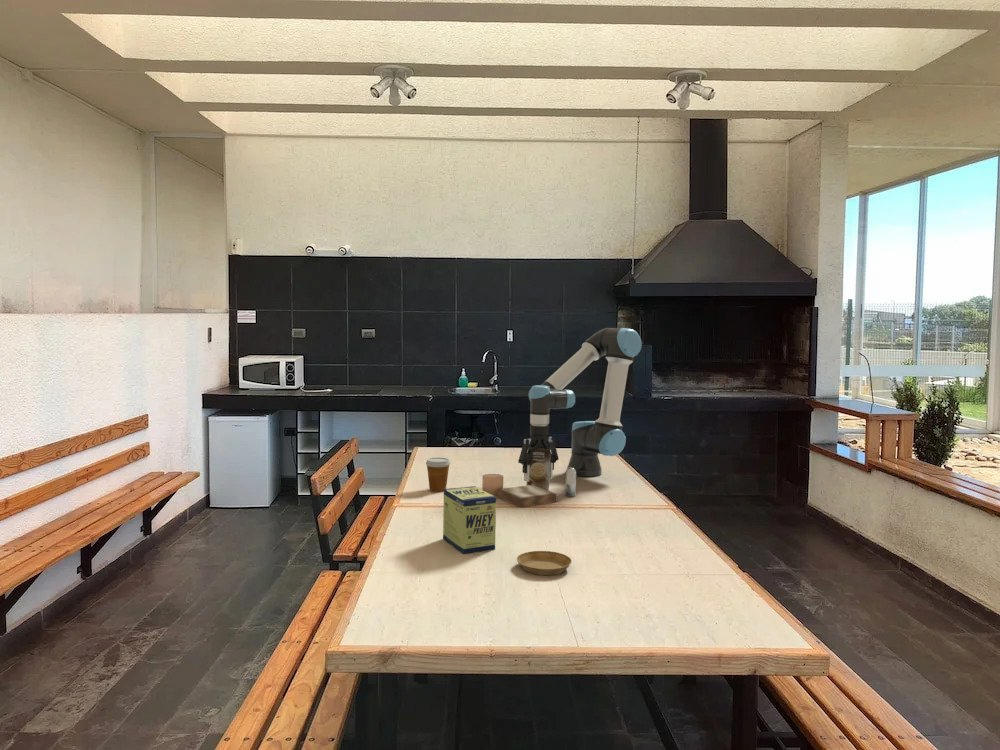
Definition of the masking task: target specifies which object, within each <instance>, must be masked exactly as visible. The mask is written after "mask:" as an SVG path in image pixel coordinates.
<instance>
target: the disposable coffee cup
mask: <svg viewBox="0 0 1000 750" xmlns="http://www.w3.org/2000/svg"><path fill="white" fill-rule="evenodd" d="M425 464H426V465H425V466H426V467H427V468H426V469H427V470H426V471H427V475H428V477H427V478H428V487H429V491H430V492H433V493H442V492H444V489H447V483H448V475H449V470H450V466H451V465H450V464H451V461H450V459H449V458H448V457H447V458H446V457H430V458H427V459H426V462H425Z"/></svg>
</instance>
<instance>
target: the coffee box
mask: <svg viewBox="0 0 1000 750" xmlns="http://www.w3.org/2000/svg"><path fill="white" fill-rule="evenodd" d="M527 452H528V454H529V453H530V452H531V449H529V447H528V451H527ZM550 452H551V449H550V447H549V448H548V449H546V448H537V449H536V450H533V455H532V457H531V459H530V461H529V463H528V465H530V468H529V482H527V481H526V485H525V486H527V485H534V486H537V487H540V488H542V489H545V490H548V491H550V479H549V478H550Z"/></svg>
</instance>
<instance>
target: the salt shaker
mask: <svg viewBox="0 0 1000 750" xmlns="http://www.w3.org/2000/svg"><path fill="white" fill-rule="evenodd" d="M564 476H565V482H564V486H565V487H564V496H565V497H566V498H575V497H576V489H577V487H576V485H577V476H576V470H575V469H574V468H572V467H570V468H568V469H567V468H566V469H565V475H564Z"/></svg>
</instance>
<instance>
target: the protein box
mask: <svg viewBox="0 0 1000 750" xmlns="http://www.w3.org/2000/svg"><path fill="white" fill-rule="evenodd" d="M442 515H443V516H442V517H443V521H442V522H443V524H442V527H443V528H442V539H443V540H444V541H445V542H447V543H448V544H450V545H451V546H452V547H453V548H455V549H456V550H457V551H459V552H460V553H461V554H463V555H465V554H471V553H472V554H473V553H477V552H484V551H492V550H496V527H497V525H496V522H497V520H496V519H497V496H496V497H495V496H493V495H491V494H489V493H487V492H485V491H483V490H482V488H479V487H477V486H473V485H472V486H461V487H450V488H446V489H444V491H443V514H442Z"/></svg>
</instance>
